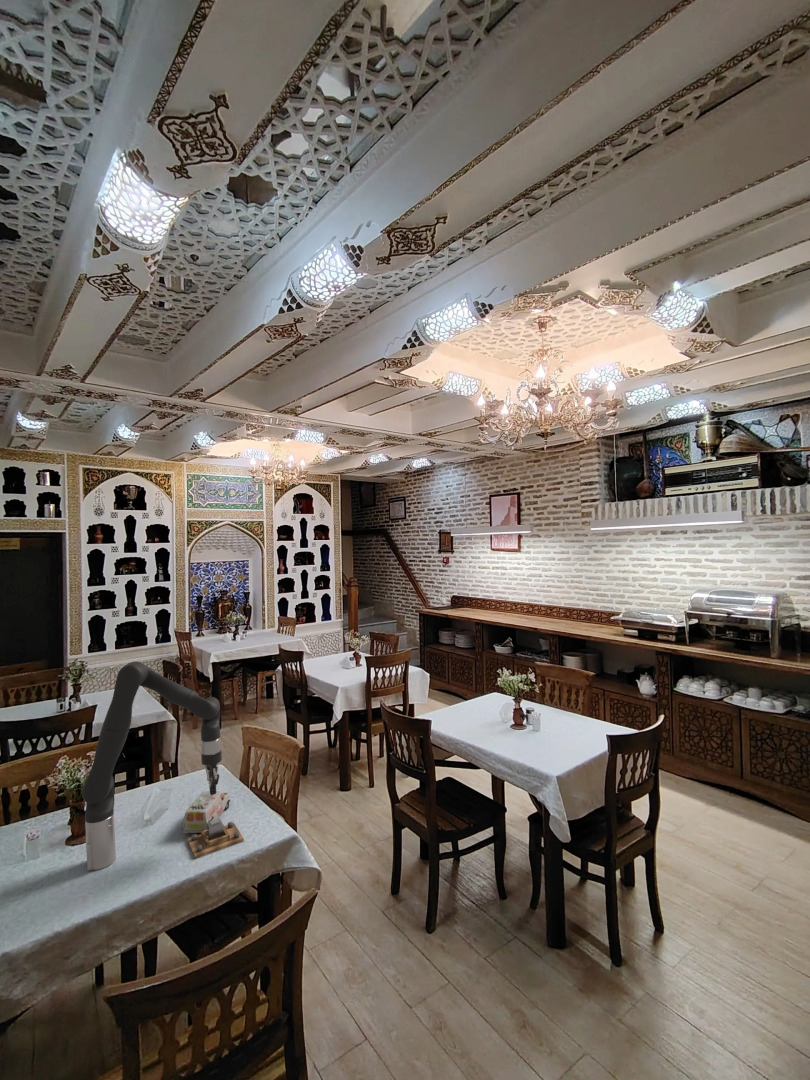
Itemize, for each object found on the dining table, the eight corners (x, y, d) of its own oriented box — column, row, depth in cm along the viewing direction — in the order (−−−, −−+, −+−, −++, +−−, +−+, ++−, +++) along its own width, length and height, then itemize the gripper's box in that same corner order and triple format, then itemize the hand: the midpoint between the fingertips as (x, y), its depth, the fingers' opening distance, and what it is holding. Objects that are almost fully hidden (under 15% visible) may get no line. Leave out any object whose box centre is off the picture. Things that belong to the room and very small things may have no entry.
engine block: (209, 842, 198) (209, 825, 198) (207, 838, 201) (206, 821, 201) (223, 838, 201) (222, 821, 201) (220, 833, 204) (219, 816, 204)
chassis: (195, 859, 190) (194, 850, 190) (187, 841, 202) (187, 833, 202) (243, 841, 200) (243, 833, 200) (233, 825, 212) (233, 817, 212)
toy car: (231, 804, 230) (230, 782, 230) (207, 836, 205) (206, 811, 205) (208, 805, 230) (207, 783, 230) (181, 837, 205) (180, 812, 205)
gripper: (197, 747, 204) (199, 790, 204) (205, 758, 193) (206, 803, 193) (216, 742, 209) (218, 784, 209) (225, 752, 198) (227, 797, 198)
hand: (213, 793), depth 201 cm, fingers closed
